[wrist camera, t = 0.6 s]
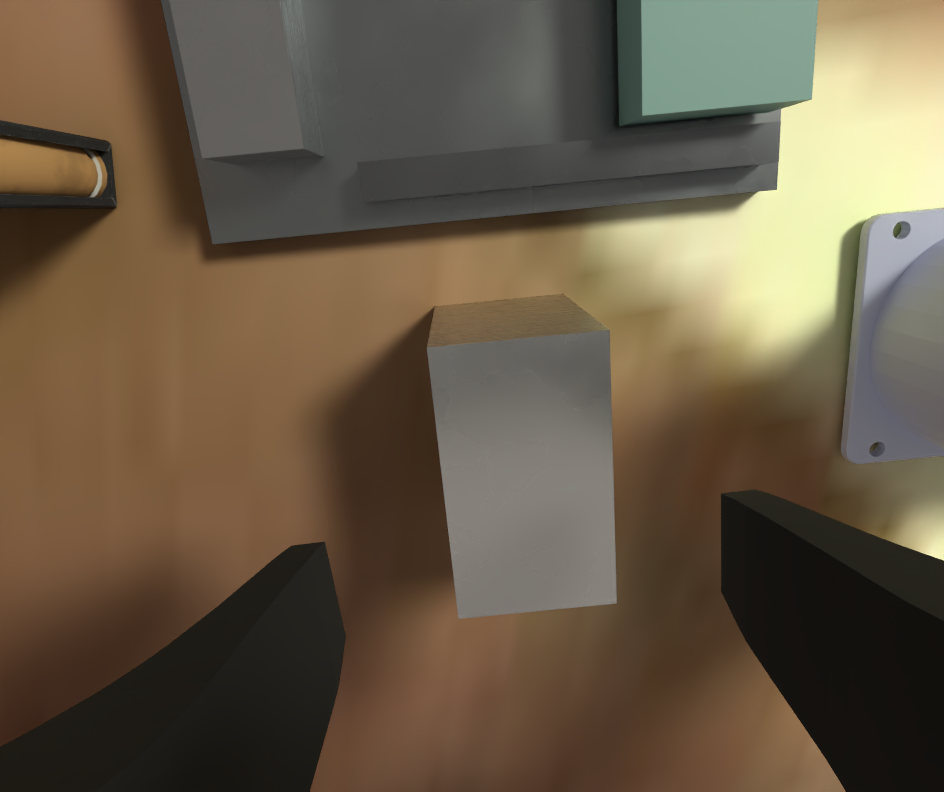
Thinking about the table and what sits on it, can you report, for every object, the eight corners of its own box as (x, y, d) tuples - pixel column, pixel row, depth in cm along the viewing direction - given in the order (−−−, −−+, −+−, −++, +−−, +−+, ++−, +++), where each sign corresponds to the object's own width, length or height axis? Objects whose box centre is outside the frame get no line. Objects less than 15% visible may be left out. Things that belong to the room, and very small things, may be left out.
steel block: (562, 293, 19) (609, 329, 13) (572, 496, 21) (616, 603, 15) (435, 305, 19) (426, 347, 13) (457, 507, 21) (458, 618, 15)
